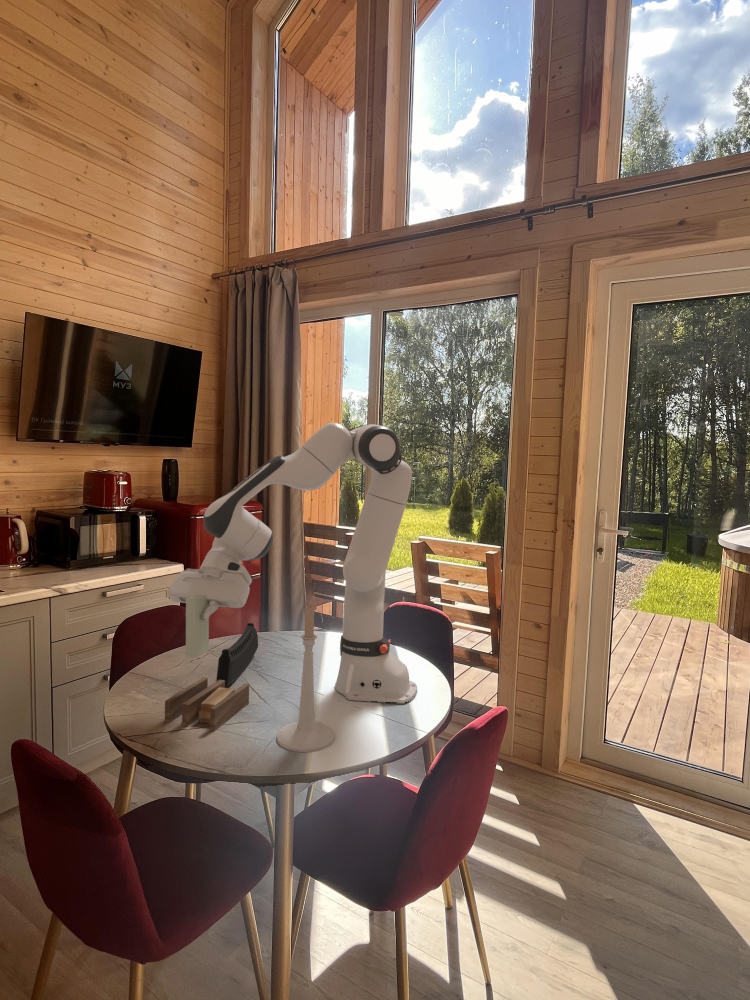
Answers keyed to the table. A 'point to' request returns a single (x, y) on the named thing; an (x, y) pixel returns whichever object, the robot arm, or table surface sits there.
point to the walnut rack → (196, 693)
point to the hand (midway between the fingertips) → (196, 618)
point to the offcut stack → (212, 703)
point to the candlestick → (306, 704)
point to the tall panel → (196, 627)
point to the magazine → (237, 656)
